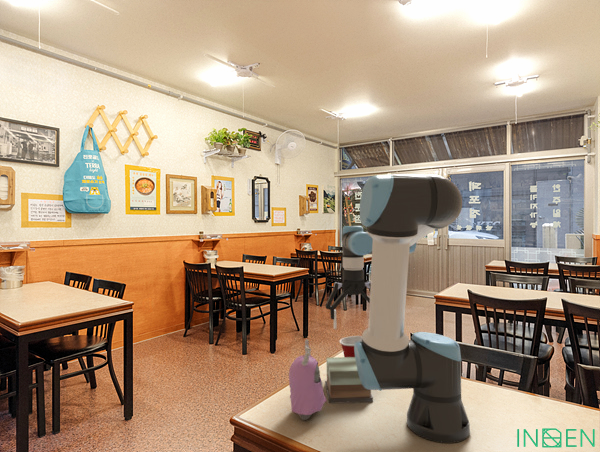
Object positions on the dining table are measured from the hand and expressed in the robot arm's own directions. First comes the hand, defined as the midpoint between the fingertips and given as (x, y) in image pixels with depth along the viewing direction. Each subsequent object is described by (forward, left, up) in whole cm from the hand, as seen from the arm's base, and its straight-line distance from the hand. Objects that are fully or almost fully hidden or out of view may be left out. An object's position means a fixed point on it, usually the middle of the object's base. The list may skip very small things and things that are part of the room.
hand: (354, 328), depth 132 cm
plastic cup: (0, 0, -16) cm, 16 cm away
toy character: (-29, +18, -16) cm, 38 cm away
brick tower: (-16, +5, -16) cm, 23 cm away
